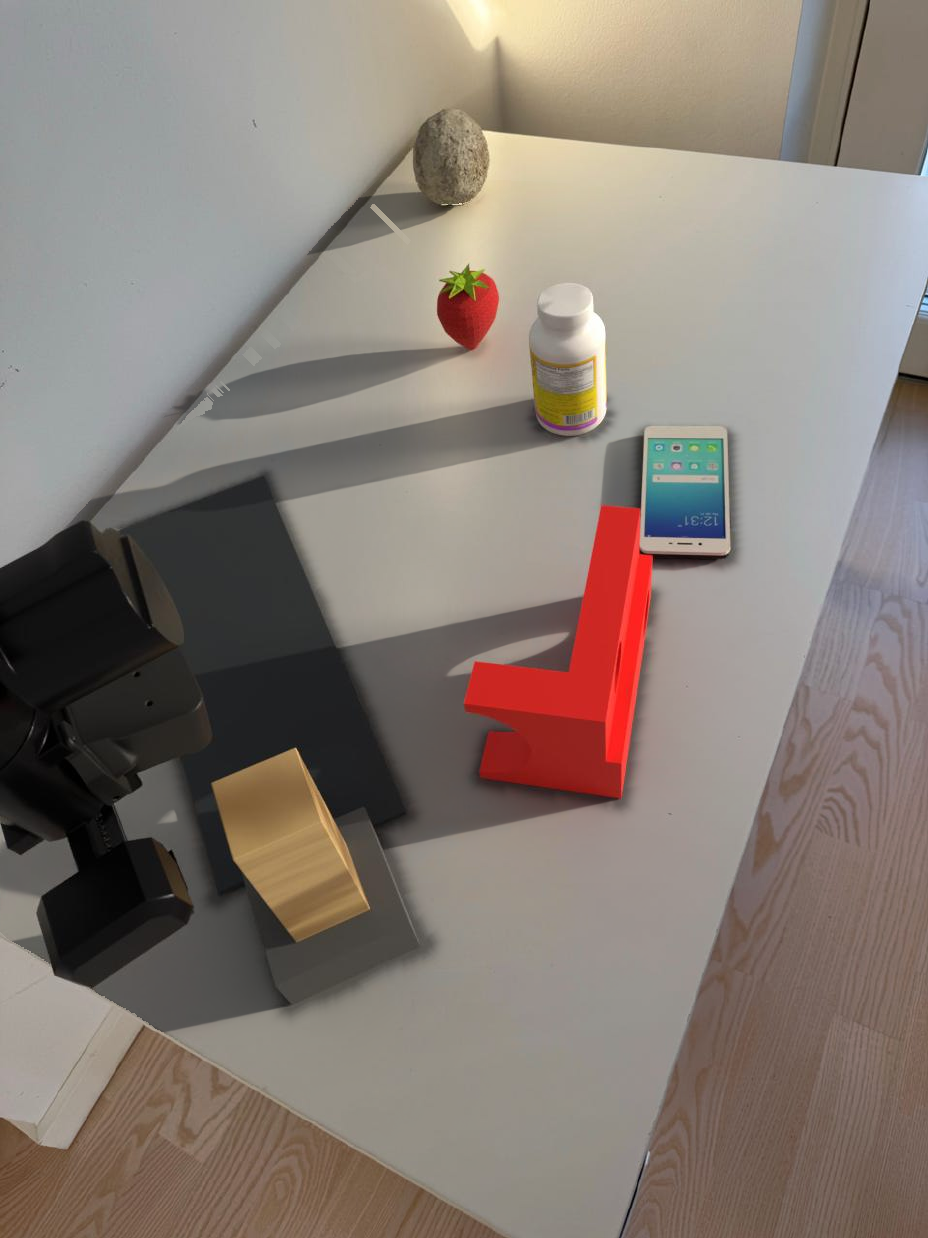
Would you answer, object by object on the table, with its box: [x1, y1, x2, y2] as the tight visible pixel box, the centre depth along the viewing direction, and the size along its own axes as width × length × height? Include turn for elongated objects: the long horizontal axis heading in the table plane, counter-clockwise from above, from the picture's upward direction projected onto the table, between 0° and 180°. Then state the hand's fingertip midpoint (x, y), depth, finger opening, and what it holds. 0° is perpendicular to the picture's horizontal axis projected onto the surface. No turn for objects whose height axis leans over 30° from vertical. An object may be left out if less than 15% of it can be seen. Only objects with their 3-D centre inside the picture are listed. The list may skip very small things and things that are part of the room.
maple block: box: [211, 748, 370, 942], centre depth 59 cm, size 5×5×13 cm
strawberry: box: [436, 263, 500, 351], centre depth 97 cm, size 6×8×10 cm
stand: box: [241, 807, 421, 1005], centre depth 66 cm, size 9×9×4 cm
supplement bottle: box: [528, 282, 608, 437], centre depth 88 cm, size 7×7×13 cm
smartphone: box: [639, 425, 732, 560], centre depth 85 cm, size 8×1×15 cm
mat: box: [119, 475, 407, 895], centre depth 81 cm, size 38×14×1 cm, turn 23°
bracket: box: [463, 504, 654, 799], centre depth 72 cm, size 18×10×10 cm
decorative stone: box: [412, 107, 491, 207], centre depth 114 cm, size 10×8×10 cm
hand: (159, 849), depth 56 cm, fingers open, 9 cm apart
